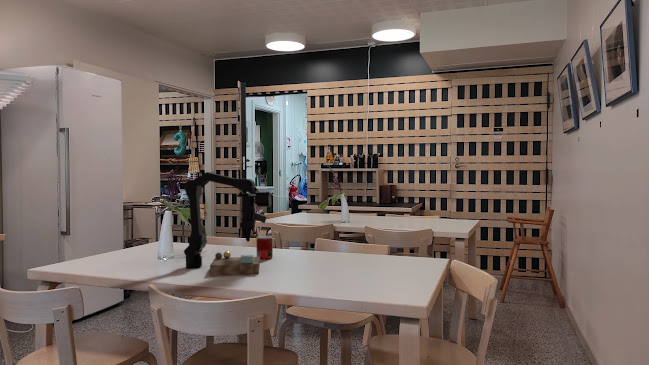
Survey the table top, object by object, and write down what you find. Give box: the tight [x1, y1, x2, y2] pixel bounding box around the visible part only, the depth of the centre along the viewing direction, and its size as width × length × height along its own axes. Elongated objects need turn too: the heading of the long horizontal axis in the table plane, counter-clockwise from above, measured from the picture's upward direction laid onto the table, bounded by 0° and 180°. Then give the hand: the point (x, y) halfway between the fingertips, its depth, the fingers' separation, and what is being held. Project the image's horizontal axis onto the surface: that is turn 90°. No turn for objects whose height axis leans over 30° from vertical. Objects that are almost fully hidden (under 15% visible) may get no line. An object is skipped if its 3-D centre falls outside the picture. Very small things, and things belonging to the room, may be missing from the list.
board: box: [209, 256, 261, 277], centre depth 203 cm, size 20×18×4 cm
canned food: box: [256, 235, 273, 261], centre depth 233 cm, size 8×8×11 cm
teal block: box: [240, 254, 254, 263], centre depth 198 cm, size 5×5×2 cm
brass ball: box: [222, 250, 232, 259], centre depth 209 cm, size 3×3×3 cm
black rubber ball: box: [214, 252, 223, 259], centre depth 207 cm, size 3×3×3 cm
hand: (248, 241), depth 209 cm, fingers closed
